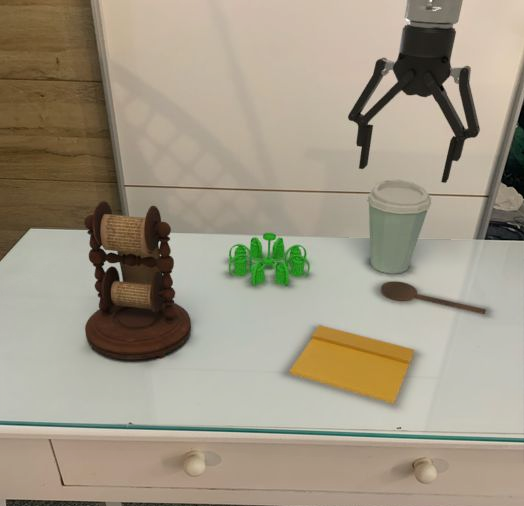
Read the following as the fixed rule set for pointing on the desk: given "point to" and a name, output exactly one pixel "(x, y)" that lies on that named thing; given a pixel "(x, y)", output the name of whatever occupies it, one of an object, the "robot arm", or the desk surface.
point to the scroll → (133, 287)
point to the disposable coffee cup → (395, 223)
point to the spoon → (419, 296)
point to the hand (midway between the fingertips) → (402, 173)
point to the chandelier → (268, 260)
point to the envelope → (354, 363)
